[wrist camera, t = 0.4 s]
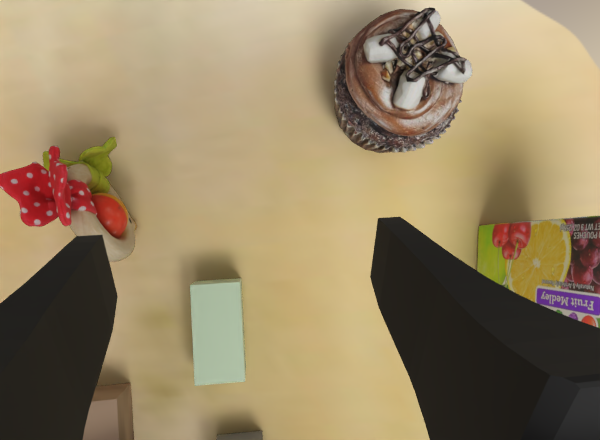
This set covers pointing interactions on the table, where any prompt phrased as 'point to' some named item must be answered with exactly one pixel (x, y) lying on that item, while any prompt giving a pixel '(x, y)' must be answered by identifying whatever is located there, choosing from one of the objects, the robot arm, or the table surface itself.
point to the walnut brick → (110, 414)
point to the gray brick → (241, 436)
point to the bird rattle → (74, 197)
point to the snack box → (547, 263)
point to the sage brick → (218, 331)
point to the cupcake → (399, 82)
